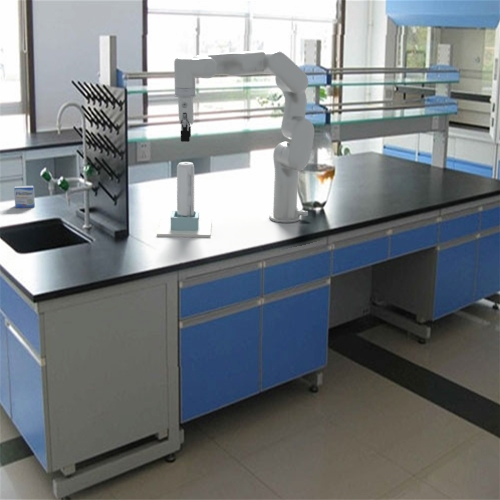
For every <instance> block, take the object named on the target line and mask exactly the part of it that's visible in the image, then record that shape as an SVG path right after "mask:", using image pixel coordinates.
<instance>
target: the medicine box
mask: <svg viewBox="0 0 500 500" xmlns="http://www.w3.org/2000/svg"><path fill="white" fill-rule="evenodd" d="M13 191H14V192H13V193H14V194H13V195H14V207H15V209H25V208H26V209H27V208H28V209H29V208H35V207H36V205H35V203H36V202H35V201H36V199H35V187H34V185H14V186H13Z"/></svg>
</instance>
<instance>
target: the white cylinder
mask: <svg viewBox="0 0 500 500" xmlns="http://www.w3.org/2000/svg"><path fill="white" fill-rule="evenodd" d="M177 163H178V162H177ZM176 204H177V206H176V207H177V208H176V209H177V210H176V211H177V217H194V211H195V165H194V163H193V162H192V161H191V162H190V161H182V162H179V163H178V164H176Z"/></svg>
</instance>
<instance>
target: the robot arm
mask: <svg viewBox="0 0 500 500" xmlns="http://www.w3.org/2000/svg"><path fill="white" fill-rule="evenodd" d="M173 65H174V66H173V69H174V97H176V98H177V101H178V103H177V104H178V108H177V109H178V120H179V121H178V122H179V125H180V142H181V143H183V142H185V143H186V142H190V141H191V139H190V138H191V136H192V132H191V131H192V128H191V127H192V126H191V125H193V124H194V123H195V122H194V121H195V120H194V118H195V117H194V98H195V97H196V78H201V79H211V78H213V77H214V76H216V75H227V76H250V75H264V74H272V75H274V76H275V84H276V86H277V87H278V89H280V91H281V92H282V94H283V96H284V110H283V115H282V121H281V124H280V125H281V127H280V131H281V134H282V136H283V137H285V138H286V139H289V140H290V142H289V141H283V142H279V143H278V144H277V145H275V146H276V147H275V148H274V150H273V155H272V156H273V157H272V159H273V165H274V183H273V184H274V185H273V186H274V187H273V208H272V209H273V210H272V211H273V212H272V213H270V214H269V216H268V217H269V220H271V221H273V222H277V223H281V224H282V223H283V224H287V223H289V224H290V223H292V224H293V223H297V222H299V221H300V220H301V216H305V217H306V216H307V217H308V215H309V211H308V210H304V209H298V207H297V205H298V186H299V171H302V170H304V169H305V168H307V166H308V164H309V162H310V159H311V155H312V150H313V145H314V139H315V127H314V125H313V122H312V121H311V120H310V119H308V118H306V111H307V101H308V100H307V95H306V94H307V93H306V90H307V88H308V86H309V77H308V76H307V74H306V73H305V71H303V70H302V68H301V67H299V66H298V65H297V64H296V63H295V62H294V61H293V59H292V60H291V58H290V57H289V56H287V55H286V54H285V53H284V52H282V51H278V50H274V49H273V50H272V49H264V50H250V51H238V52H228V53H215V54H214V53H213V54H212V53H211V54H201V55H199V54H198V55H196V56H194V57H187V56H185V57H183V56H182V57H181V56H180V57H176V58H175V59H174V61H173Z"/></svg>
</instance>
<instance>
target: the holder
mask: <svg viewBox="0 0 500 500" xmlns="http://www.w3.org/2000/svg"><path fill="white" fill-rule="evenodd" d="M170 214H171V215H170V219H166V218H164V219H163V218H162V219H160V222H159V225H158V229H157V232H156V237H158V238H159V237H161V238H163V237H165V238H168V237H169V238H175V237H179V238H211V232H212V219H200V211H196V210H194V217H177V210H172V211H171V213H170Z"/></svg>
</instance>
